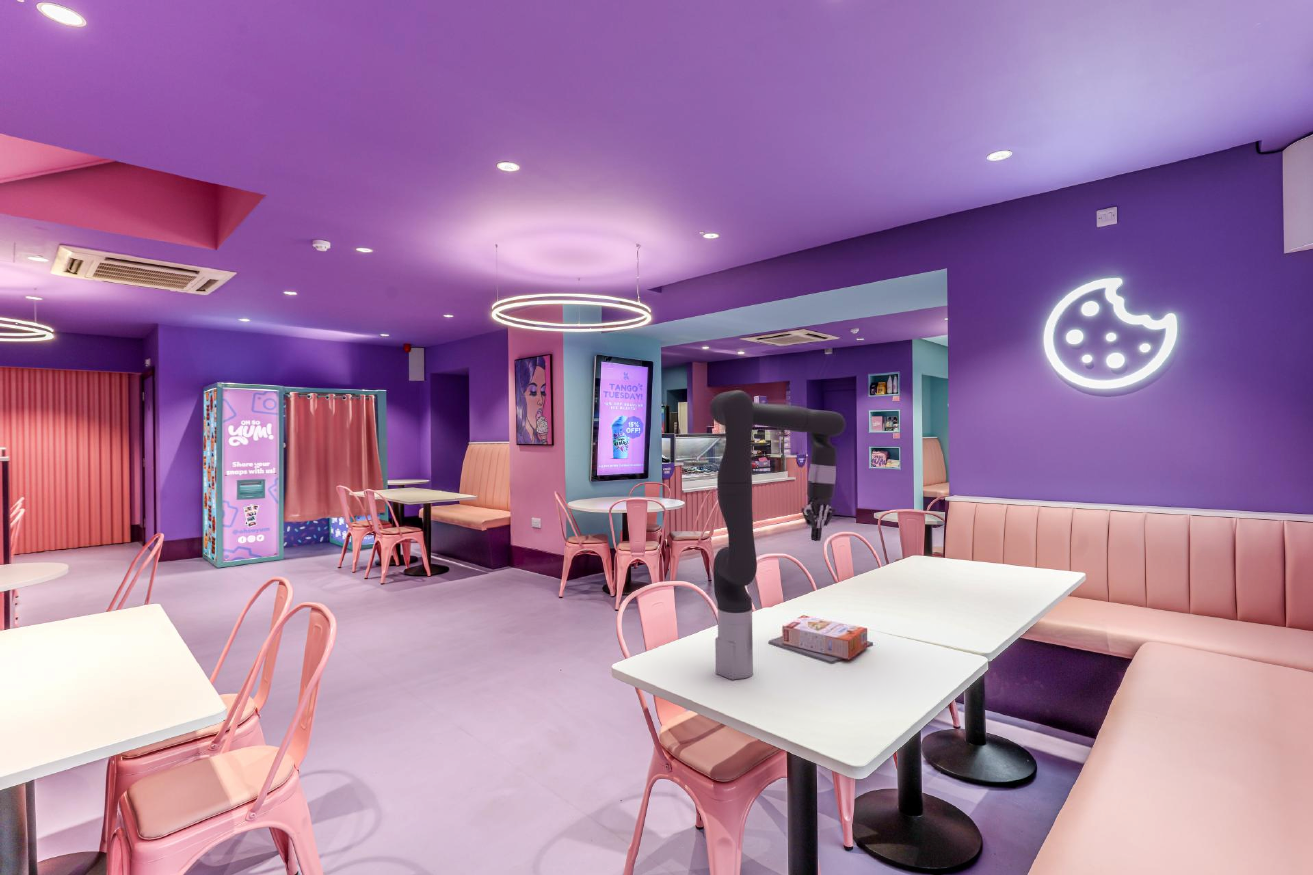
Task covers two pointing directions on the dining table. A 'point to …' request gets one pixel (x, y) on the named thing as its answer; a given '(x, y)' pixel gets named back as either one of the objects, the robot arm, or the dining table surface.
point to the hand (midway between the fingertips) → (815, 540)
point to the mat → (809, 651)
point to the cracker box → (825, 636)
